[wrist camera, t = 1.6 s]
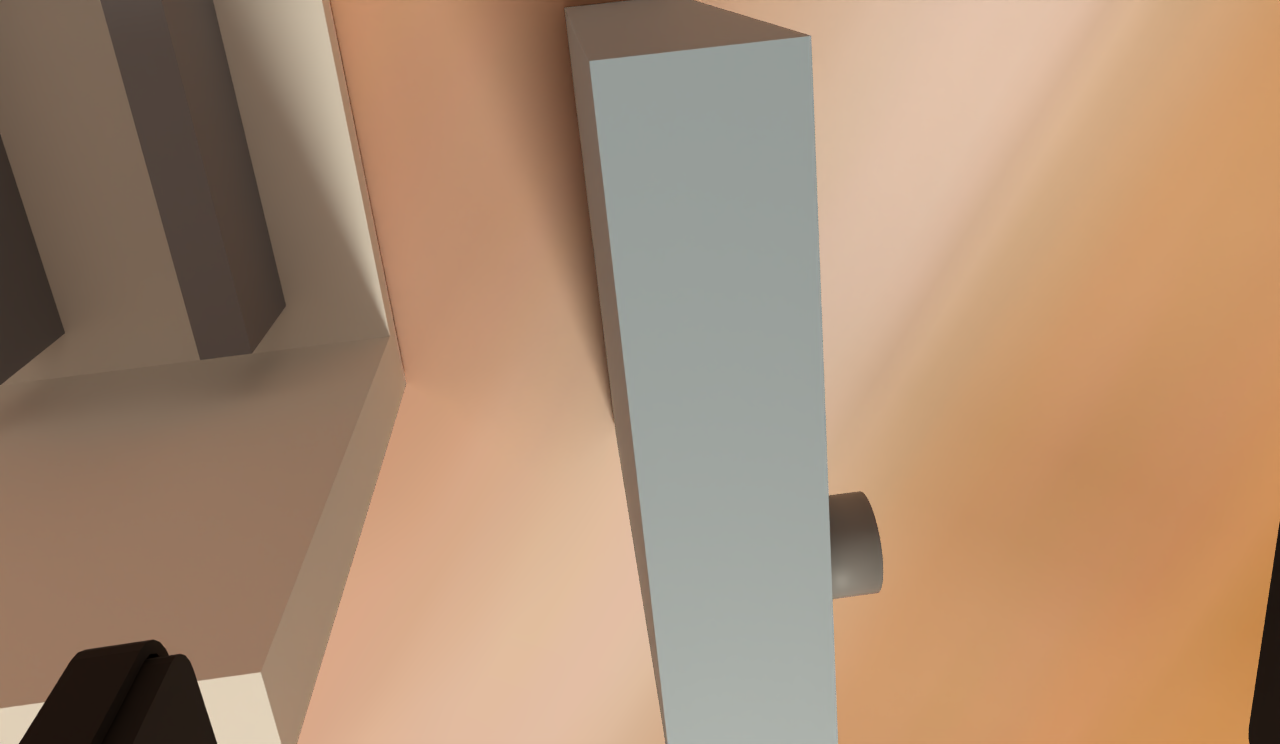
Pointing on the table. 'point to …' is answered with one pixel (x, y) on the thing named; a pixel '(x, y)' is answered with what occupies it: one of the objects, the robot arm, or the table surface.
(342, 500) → the cabinet base
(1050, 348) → the table surface
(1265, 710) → the robot arm
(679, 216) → the door panel
